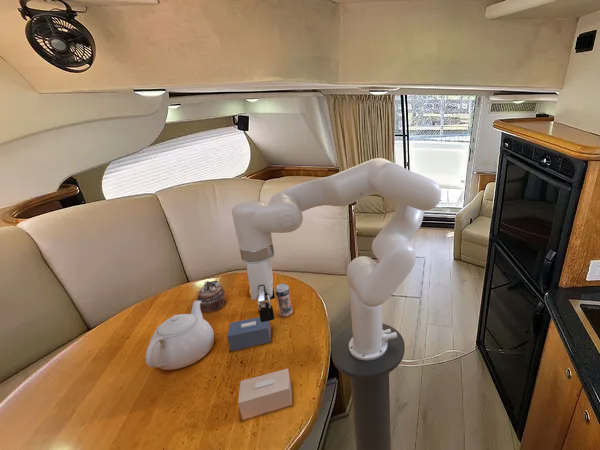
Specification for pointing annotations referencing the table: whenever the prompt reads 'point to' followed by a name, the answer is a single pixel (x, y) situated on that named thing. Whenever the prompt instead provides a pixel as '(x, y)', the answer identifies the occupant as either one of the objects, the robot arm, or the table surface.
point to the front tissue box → (264, 394)
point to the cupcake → (211, 296)
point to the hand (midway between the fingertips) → (268, 309)
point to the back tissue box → (248, 333)
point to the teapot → (180, 341)
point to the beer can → (283, 299)
